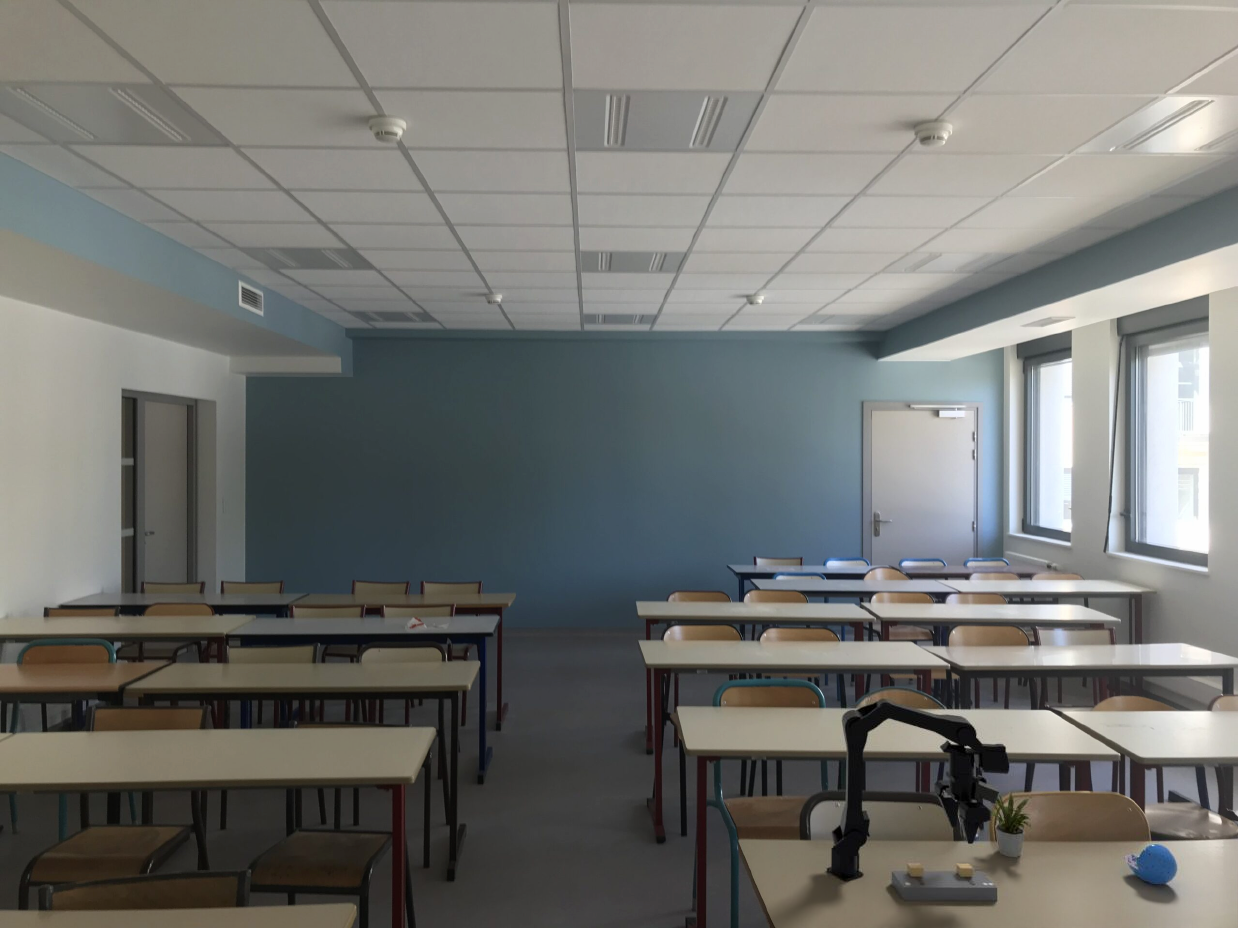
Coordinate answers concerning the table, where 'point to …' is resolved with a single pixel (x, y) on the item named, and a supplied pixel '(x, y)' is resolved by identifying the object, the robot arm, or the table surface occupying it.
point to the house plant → (1010, 827)
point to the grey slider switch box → (944, 886)
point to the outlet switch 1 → (915, 869)
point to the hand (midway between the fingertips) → (961, 834)
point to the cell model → (1153, 864)
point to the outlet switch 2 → (964, 870)
